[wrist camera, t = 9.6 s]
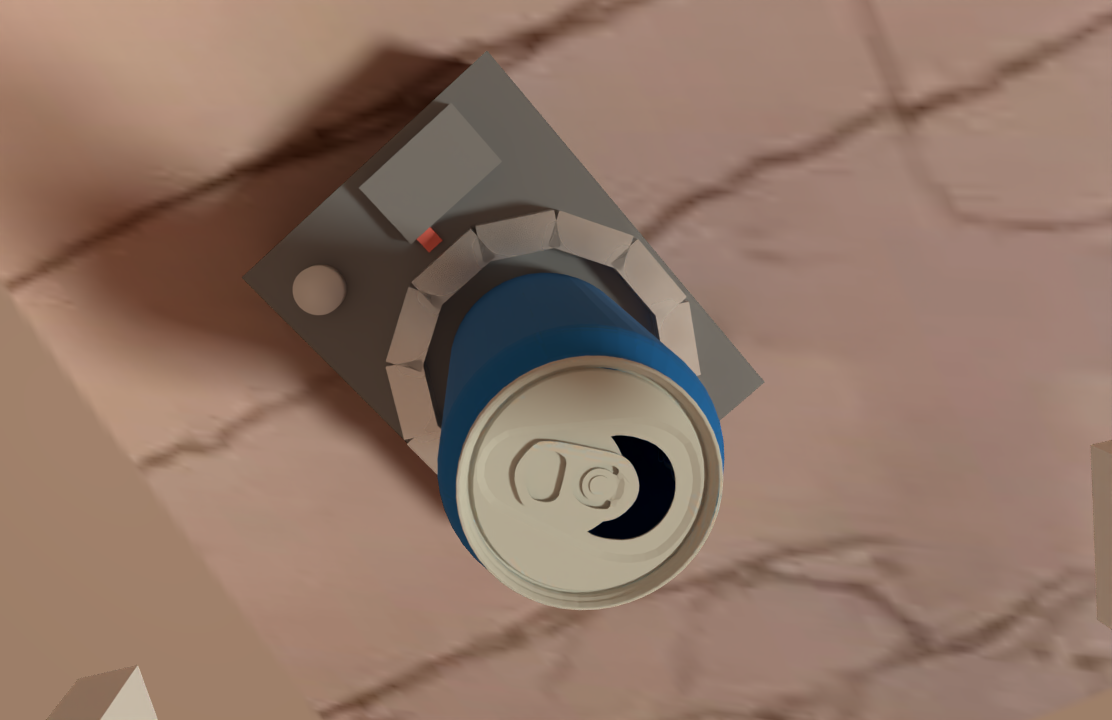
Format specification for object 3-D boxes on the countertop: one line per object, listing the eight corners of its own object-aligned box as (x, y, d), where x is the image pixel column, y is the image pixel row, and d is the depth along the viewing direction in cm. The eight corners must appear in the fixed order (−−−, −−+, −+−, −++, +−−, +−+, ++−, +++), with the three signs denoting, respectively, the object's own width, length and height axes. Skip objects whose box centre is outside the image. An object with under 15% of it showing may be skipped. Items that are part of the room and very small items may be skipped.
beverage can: (609, 463, 29) (698, 649, 18) (434, 430, 28) (407, 604, 17) (652, 291, 28) (779, 370, 17) (471, 251, 27) (469, 305, 16)
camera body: (271, 265, 31) (234, 280, 26) (485, 67, 30) (487, 46, 25) (532, 530, 34) (541, 585, 29) (730, 358, 33) (772, 387, 29)
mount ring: (330, 353, 28) (324, 361, 26) (557, 148, 27) (560, 146, 26) (531, 555, 30) (533, 571, 29) (745, 371, 29) (756, 379, 28)
